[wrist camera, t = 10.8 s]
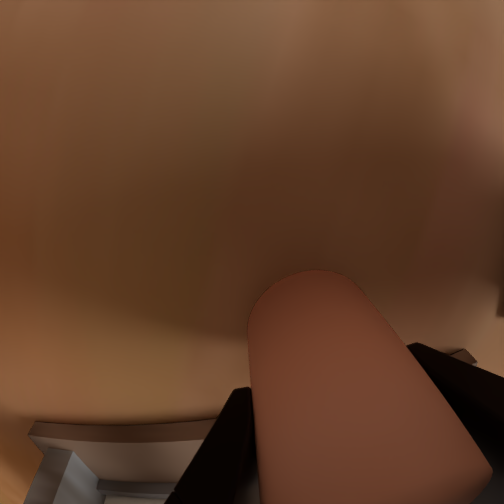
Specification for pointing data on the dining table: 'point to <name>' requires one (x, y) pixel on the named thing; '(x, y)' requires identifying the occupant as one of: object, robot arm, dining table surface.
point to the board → (118, 458)
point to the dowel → (349, 405)
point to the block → (131, 500)
